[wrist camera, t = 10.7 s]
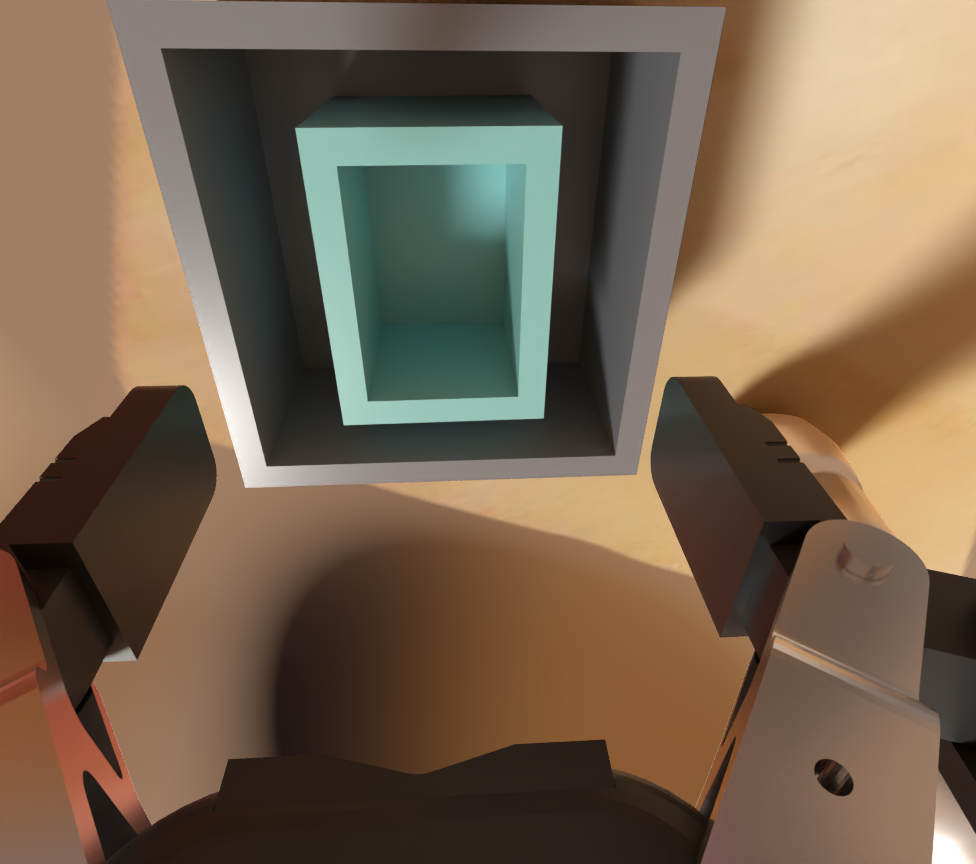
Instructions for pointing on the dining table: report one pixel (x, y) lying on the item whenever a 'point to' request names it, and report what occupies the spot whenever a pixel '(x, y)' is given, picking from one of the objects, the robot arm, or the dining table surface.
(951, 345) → the dining table surface
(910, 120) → the dining table surface
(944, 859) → the plastic bottle
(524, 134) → the teal crate
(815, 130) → the dining table surface
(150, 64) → the gray crate
